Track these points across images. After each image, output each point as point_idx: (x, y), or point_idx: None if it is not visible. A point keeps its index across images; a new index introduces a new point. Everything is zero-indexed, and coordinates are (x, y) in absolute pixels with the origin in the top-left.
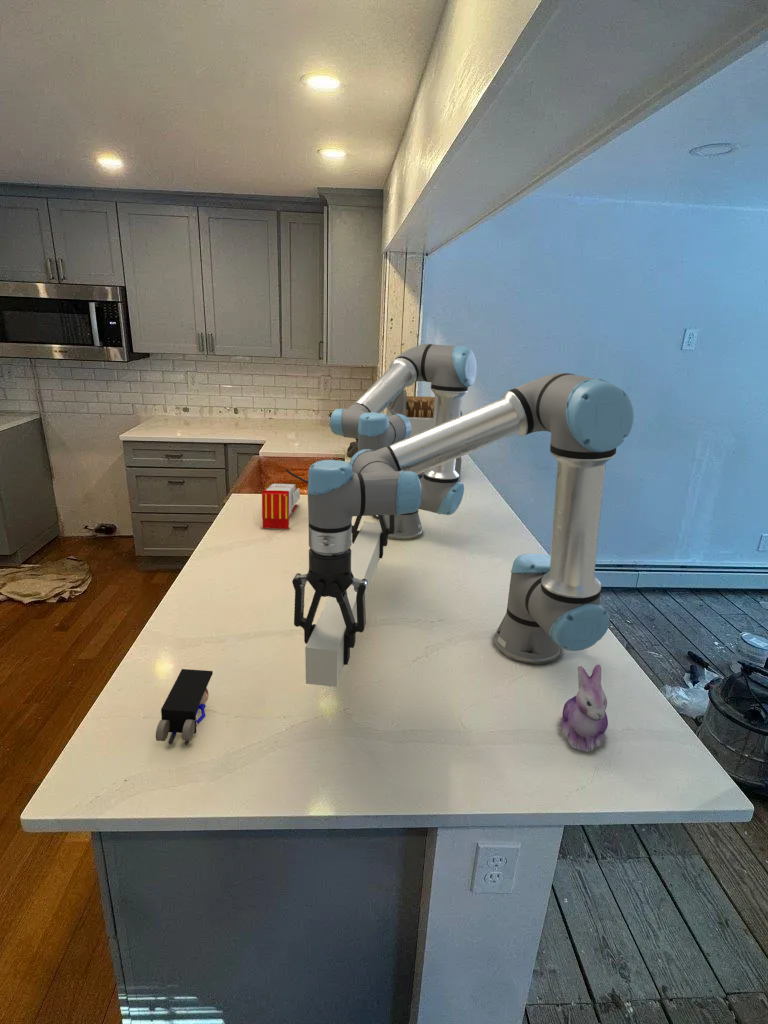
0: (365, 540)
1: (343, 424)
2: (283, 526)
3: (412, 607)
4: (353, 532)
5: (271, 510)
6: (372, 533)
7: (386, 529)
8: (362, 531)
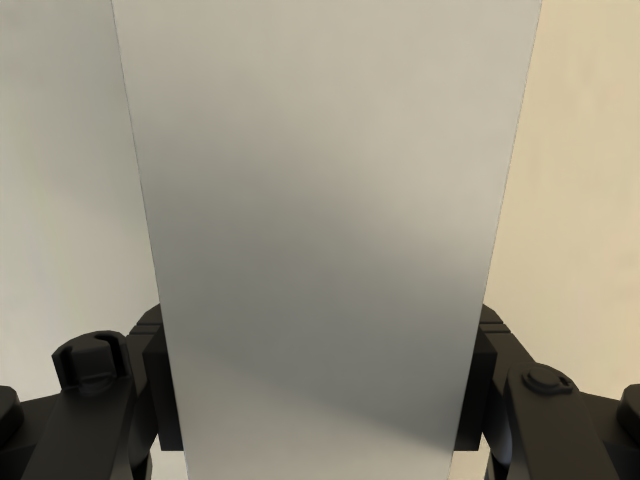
0: (343, 76)
1: None
2: None
3: (102, 89)
4: (541, 371)
5: None
6: (278, 374)
7: (47, 449)
8: (421, 409)
